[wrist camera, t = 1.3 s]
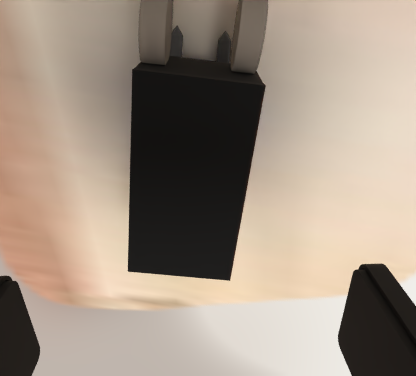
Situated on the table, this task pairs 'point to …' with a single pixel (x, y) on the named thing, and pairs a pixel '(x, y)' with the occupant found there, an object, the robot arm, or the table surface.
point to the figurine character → (192, 144)
